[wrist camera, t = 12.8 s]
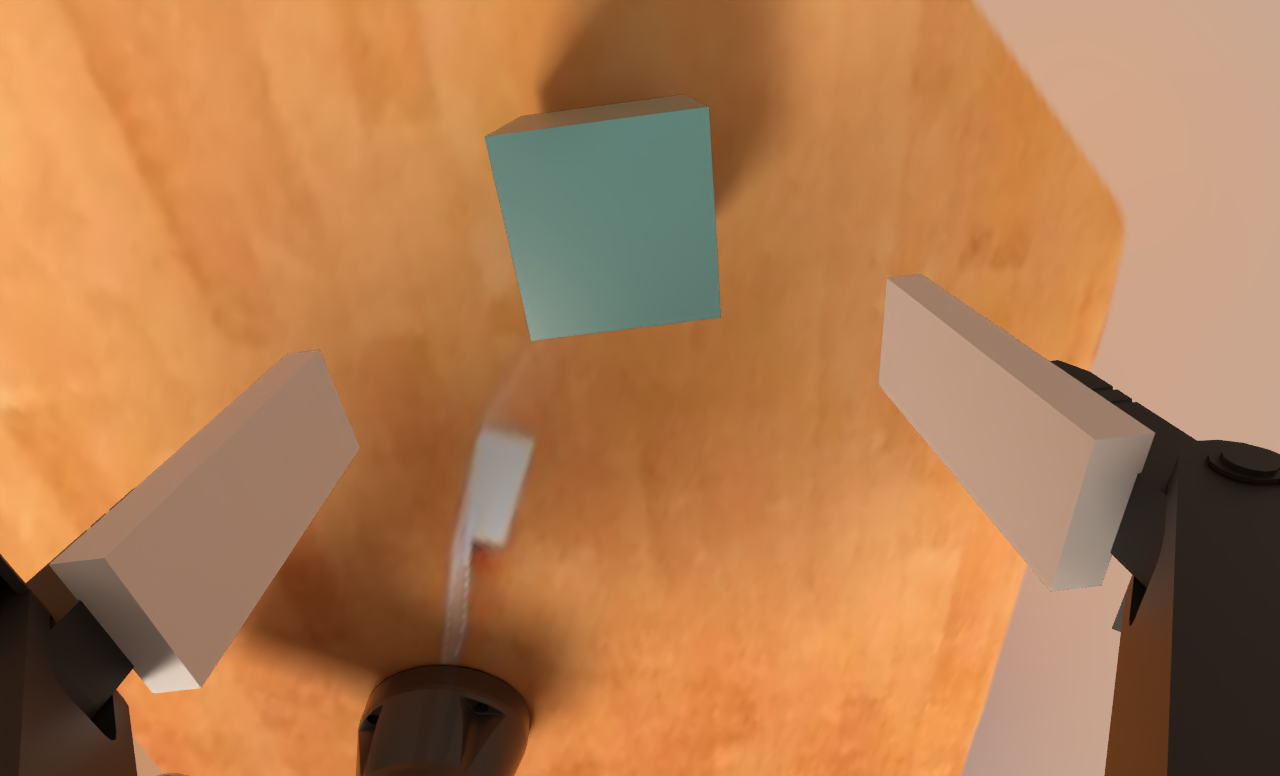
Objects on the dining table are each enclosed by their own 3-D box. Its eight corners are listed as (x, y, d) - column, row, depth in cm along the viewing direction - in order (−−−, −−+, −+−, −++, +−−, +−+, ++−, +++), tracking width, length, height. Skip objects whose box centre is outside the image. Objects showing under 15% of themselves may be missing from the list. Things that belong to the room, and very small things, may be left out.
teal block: (551, 272, 34) (531, 341, 26) (521, 116, 30) (484, 136, 22) (694, 254, 34) (721, 317, 25) (682, 94, 30) (709, 106, 21)
